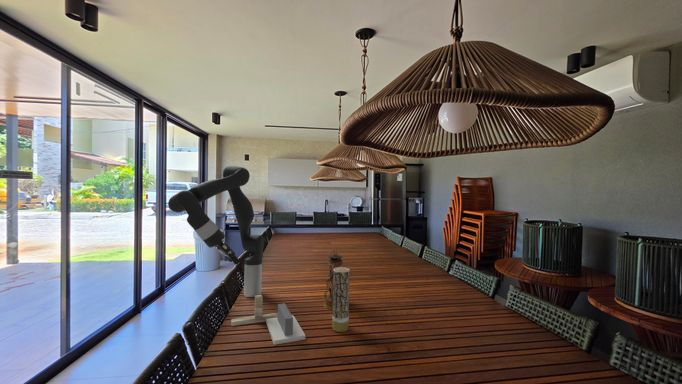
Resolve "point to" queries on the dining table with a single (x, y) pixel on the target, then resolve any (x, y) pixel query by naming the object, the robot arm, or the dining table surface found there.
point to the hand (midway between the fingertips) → (235, 261)
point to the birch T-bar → (257, 314)
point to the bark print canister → (340, 299)
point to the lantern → (333, 263)
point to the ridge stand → (284, 327)
